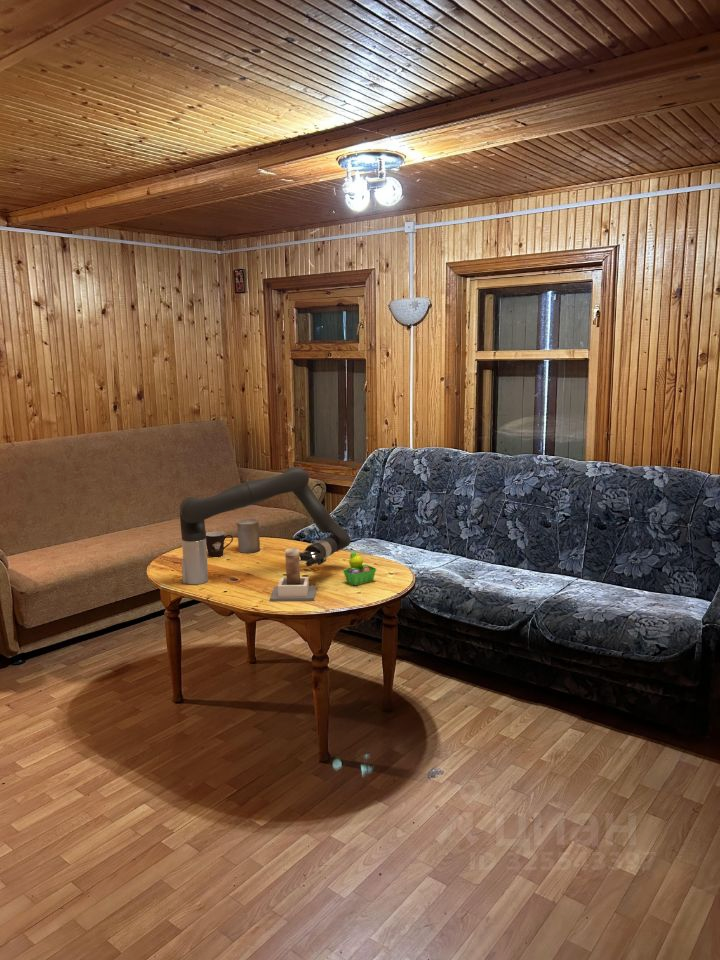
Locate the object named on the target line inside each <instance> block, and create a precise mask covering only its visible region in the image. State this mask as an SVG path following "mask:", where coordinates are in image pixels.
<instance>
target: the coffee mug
mask: <svg viewBox="0 0 720 960" xmlns="http://www.w3.org/2000/svg"><path fill="white" fill-rule="evenodd" d="M225 534H226V533H225V532H224V531H208V532H206V546H207V557H208V556H209V558H210V557H218V558H222V557H223V556H224V551H225V549H226V548H227V547H228V546H230V545H231V544H232V543H233V540H234V538H233V535H231V534H226V535H225ZM228 537H229V538H231V540H230V542H229V543H227V544H226V545H225V540H226V538H228ZM221 556H222V557H221Z"/></svg>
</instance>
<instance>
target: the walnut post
mask: <svg viewBox="0 0 720 960" xmlns="http://www.w3.org/2000/svg"><path fill="white" fill-rule="evenodd" d="M284 552H285V573H286V575H285V577H286V579H287V585H300V577H301V567H300V565H301V564H300V563H301V562H299V560H300V556H299V552H300V548H297V547H296V548H295V547H291V548H289V547H288V548H287V549H285V551H284Z"/></svg>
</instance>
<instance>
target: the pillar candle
mask: <svg viewBox="0 0 720 960" xmlns="http://www.w3.org/2000/svg"><path fill="white" fill-rule="evenodd" d="M236 526H237V527H236V528H237V541H238V543H237V545H238V546H237V547H238V552H239V553H241V552H242V554H253V553H257V552H260V550H261V544H260V543H261V541H260V523H259V520H258V519H256V518H244V519H240V520H237V522H236Z"/></svg>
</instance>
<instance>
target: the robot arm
mask: <svg viewBox="0 0 720 960" xmlns="http://www.w3.org/2000/svg"><path fill="white" fill-rule="evenodd" d="M309 481H310V476H309V474H308V472H307V471H306V470H305V469H303V468H302V467H297V466H291V467H288V468H286V470H285V471H284V473H281V474H278V475H276V476H272V477H266V478H265V477H264V478H260V479H259V478H258V479H253V480H248V481H244V482H242V483H238V484H235V485H233V486H230V487H229V488H226V489H225V490H223V491H221V492H219V493H217V494H215V495H213V496H212V495H211V496H209V497H206V498H200V499H199V498H198V497H195V496H189V497H186V498H185V499H183V500H182V501H181V502H180V506H179V519H180V520H179V522H180V534H181V545H182V550H181V551H182V559H181V574H182V584H187V585H202V584H205V583H207V582H208V581H209V570H208V569H209V568H208V566H209V565H208V551H207V545H206V533H207V532H206V531H207V530H206V523H205V522H206V521H205V520H207V519H210V518H212V517H215V516H217V515H220V514H223V513H227V512H232V511H235V510H238V509H242V508H245V507H249V506H252V505H255V504H258V503H261V502H263V501H265V500H268V499H271V498H273V497H276V496H279V495H282V494H287V493H293V494H294V496H296V498H297V499H298V500H299V501H300V503H301V504H302V505H303V507H304V508H305V510H306V512H307V513H308V515H309V516H310V518H311V519H312V521H313V523H314V524H315V526H316V527H317V528H318V530H319V532H321V533H322V534H328V533H329V534H330V535H329V536H327V537H325V538H323V539H321V540H318V541H315V542H314V543H310V544H309V545H307V546H306V548H305V549H304V550H303V551H301V552H300V551H299V563H302V562H306V567H308V568H309V567H311V566H312V565H317V566H318V565H319V566H320V565H322V564H323V563H325V562H327V558H329V557H330V556H332V555H333V554H335V553H336V552H338V551H340V550H343V549H344V548H347V547H349V546H350V543H351V537H350V535H349V533H348V532H347V531H346V530H345V529H344V528H343V527H342V526H340V525H339V524H338V523H337V522H336V521H335V520H334V518H333V517H332V515H331V514H330V512H329V511H328V510H327V509H326V507H325V506H324V504H323V503H322V502H321V501H320V500H319V499H318V497H317V496H316V495H315V493H314V492H313V491H312V489H311V488H310V485H309Z"/></svg>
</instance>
